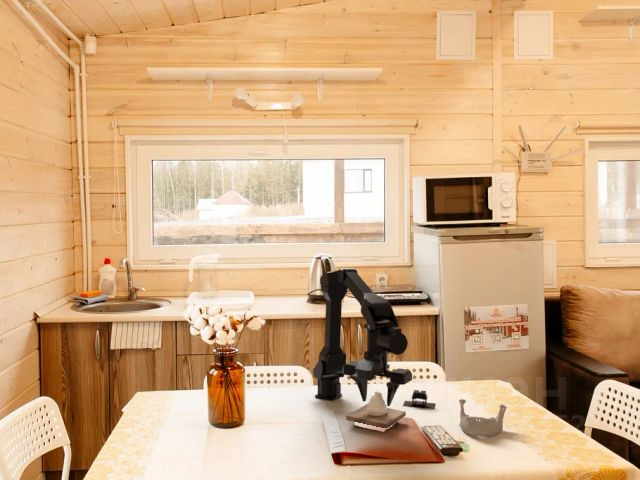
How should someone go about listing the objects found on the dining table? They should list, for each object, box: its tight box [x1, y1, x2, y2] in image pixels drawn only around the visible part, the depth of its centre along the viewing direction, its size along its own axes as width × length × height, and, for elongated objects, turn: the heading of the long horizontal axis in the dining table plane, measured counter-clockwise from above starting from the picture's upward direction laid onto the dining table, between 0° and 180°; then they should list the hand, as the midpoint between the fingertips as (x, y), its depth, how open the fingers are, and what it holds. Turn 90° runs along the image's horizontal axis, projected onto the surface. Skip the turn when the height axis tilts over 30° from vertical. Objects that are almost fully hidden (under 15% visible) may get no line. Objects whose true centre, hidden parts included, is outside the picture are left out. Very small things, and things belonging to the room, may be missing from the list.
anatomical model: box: [458, 398, 508, 438], centre depth 164 cm, size 13×11×10 cm
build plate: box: [402, 389, 437, 410], centre depth 186 cm, size 12×7×5 cm, turn 75°
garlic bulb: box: [367, 390, 388, 416], centre depth 168 cm, size 6×6×5 cm
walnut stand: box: [345, 403, 407, 428], centre depth 168 cm, size 12×12×3 cm
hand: (376, 403), depth 168 cm, fingers open, 7 cm apart
